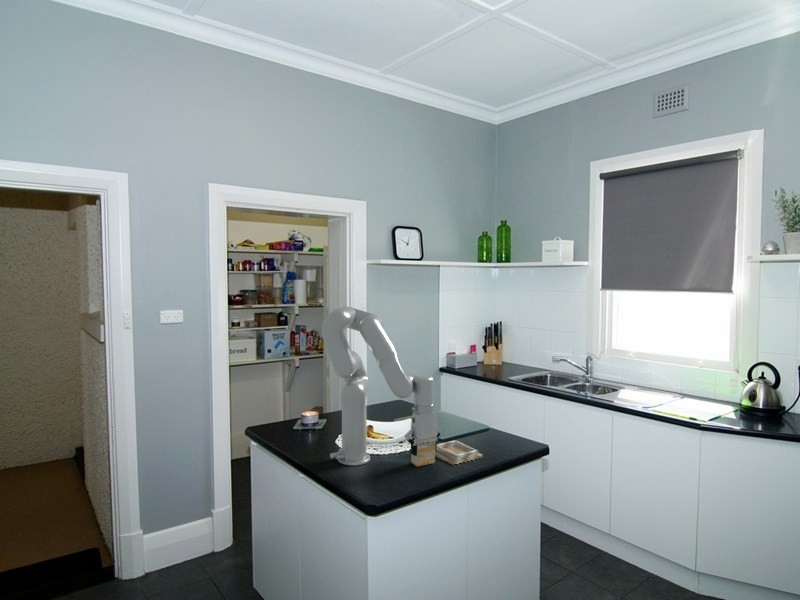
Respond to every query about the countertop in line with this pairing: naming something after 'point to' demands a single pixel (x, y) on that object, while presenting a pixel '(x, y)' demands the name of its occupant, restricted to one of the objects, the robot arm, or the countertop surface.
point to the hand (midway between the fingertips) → (423, 452)
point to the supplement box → (424, 452)
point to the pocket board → (456, 452)
